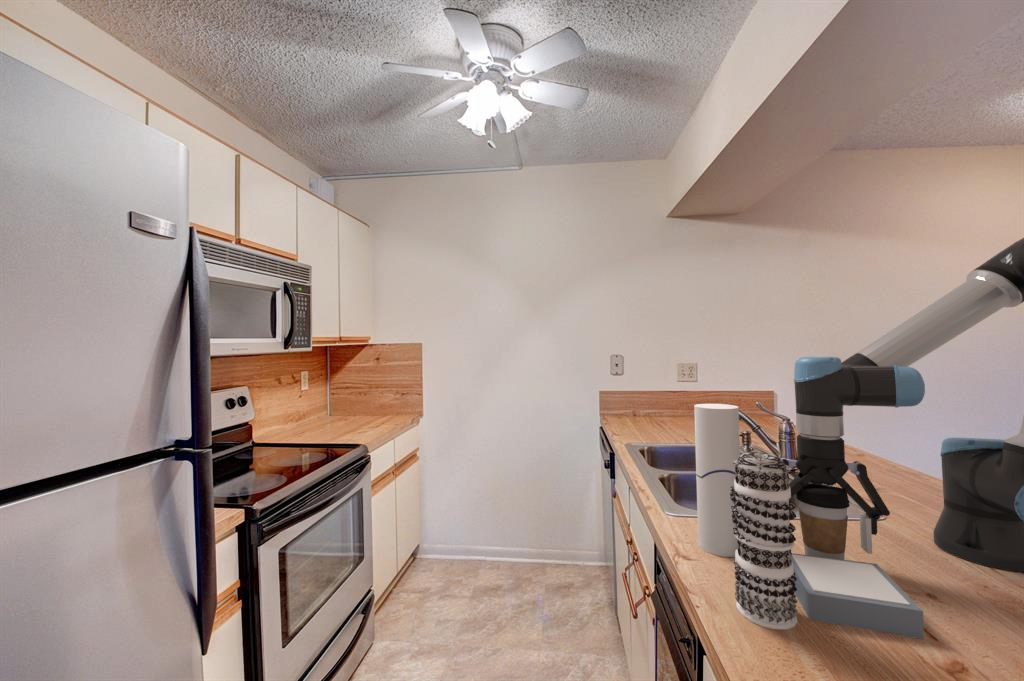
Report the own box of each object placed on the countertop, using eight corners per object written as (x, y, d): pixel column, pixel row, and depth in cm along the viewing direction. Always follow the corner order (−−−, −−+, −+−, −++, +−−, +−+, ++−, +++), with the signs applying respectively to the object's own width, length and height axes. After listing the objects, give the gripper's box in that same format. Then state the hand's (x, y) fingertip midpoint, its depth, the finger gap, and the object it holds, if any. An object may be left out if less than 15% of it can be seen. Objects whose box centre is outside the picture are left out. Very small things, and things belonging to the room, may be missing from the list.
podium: (877, 586, 73) (876, 562, 74) (924, 639, 60) (922, 609, 60) (784, 573, 78) (784, 551, 78) (809, 619, 65) (808, 592, 65)
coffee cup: (838, 581, 75) (835, 497, 76) (789, 560, 83) (786, 484, 83) (861, 569, 79) (858, 489, 80) (812, 550, 87) (809, 478, 87)
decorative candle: (720, 606, 69) (716, 453, 69) (753, 589, 73) (749, 446, 74) (779, 639, 61) (773, 466, 61) (812, 618, 65) (806, 457, 66)
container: (749, 558, 84) (744, 409, 85) (703, 555, 86) (699, 408, 86) (735, 539, 92) (731, 403, 93) (694, 536, 94) (690, 403, 95)
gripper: (889, 435, 81) (893, 545, 80) (744, 429, 89) (747, 529, 89) (910, 443, 74) (915, 564, 73) (751, 436, 82) (754, 544, 82)
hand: (823, 545), depth 81 cm, fingers open, 13 cm apart
